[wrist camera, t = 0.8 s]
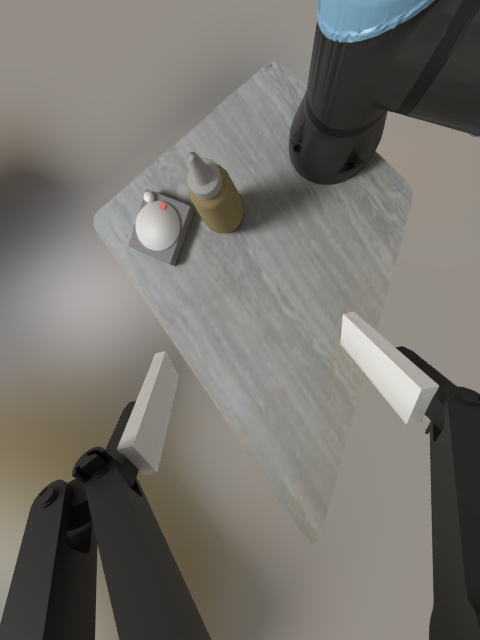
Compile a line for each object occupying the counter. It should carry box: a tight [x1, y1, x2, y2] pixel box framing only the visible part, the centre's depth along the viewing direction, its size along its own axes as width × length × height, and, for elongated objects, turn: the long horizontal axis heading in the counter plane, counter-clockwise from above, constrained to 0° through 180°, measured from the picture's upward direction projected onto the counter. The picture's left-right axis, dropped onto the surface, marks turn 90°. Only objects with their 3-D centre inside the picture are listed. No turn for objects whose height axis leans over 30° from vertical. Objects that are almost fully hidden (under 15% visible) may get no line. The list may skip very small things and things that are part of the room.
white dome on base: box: [129, 189, 195, 266], centre depth 42 cm, size 12×10×3 cm
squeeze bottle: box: [187, 152, 244, 233], centre depth 32 cm, size 8×8×18 cm
